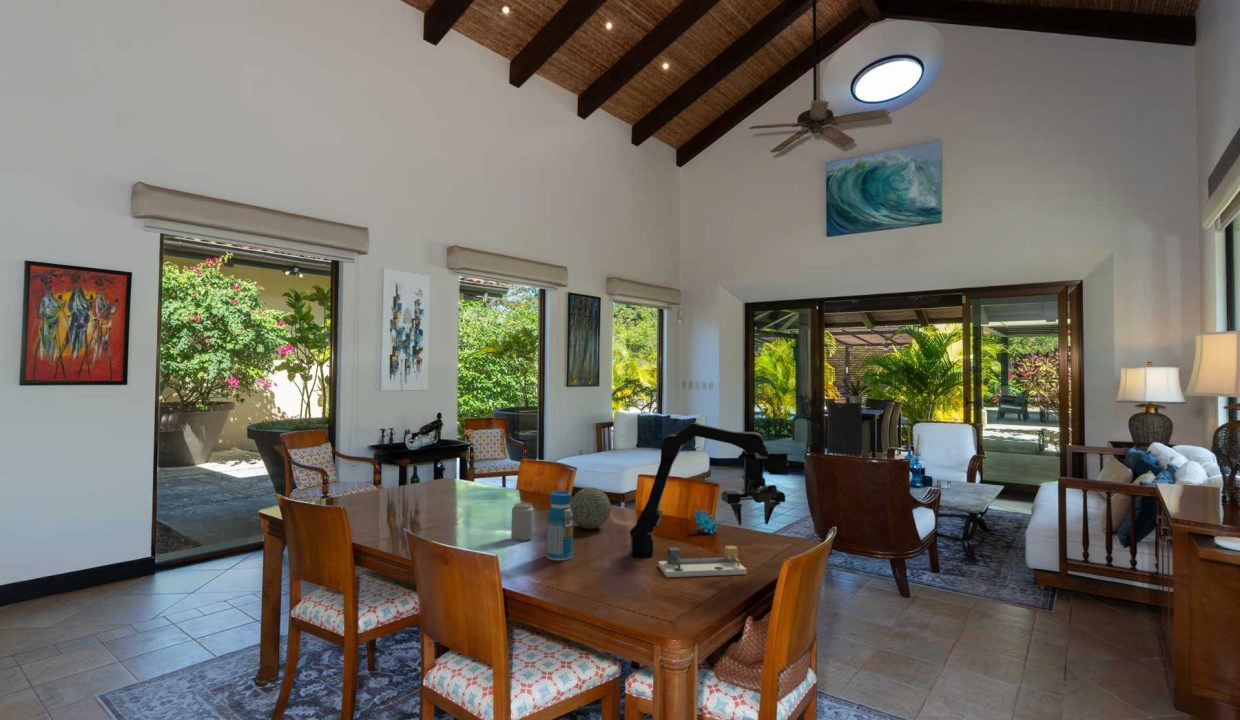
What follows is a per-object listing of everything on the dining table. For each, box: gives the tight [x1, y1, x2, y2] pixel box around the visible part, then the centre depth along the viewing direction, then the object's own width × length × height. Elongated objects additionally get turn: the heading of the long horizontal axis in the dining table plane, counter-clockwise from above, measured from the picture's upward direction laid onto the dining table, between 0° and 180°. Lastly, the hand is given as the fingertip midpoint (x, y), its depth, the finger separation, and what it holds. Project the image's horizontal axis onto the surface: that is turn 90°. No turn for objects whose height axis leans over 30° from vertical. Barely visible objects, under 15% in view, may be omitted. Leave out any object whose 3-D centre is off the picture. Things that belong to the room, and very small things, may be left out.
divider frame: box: [666, 546, 739, 568], centre depth 189 cm, size 22×8×4 cm, turn 100°
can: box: [510, 502, 535, 542], centre depth 218 cm, size 8×8×12 cm
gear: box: [693, 509, 719, 535], centre depth 234 cm, size 11×6×10 cm
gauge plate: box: [658, 560, 747, 578], centre depth 189 cm, size 24×10×2 cm, turn 100°
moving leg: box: [724, 545, 741, 566], centre depth 190 cm, size 3×8×4 cm, turn 10°
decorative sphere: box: [569, 486, 611, 530], centre depth 234 cm, size 15×15×15 cm
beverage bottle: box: [545, 490, 575, 562], centre depth 198 cm, size 8×8×20 cm
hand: (753, 524), depth 195 cm, fingers open, 8 cm apart
